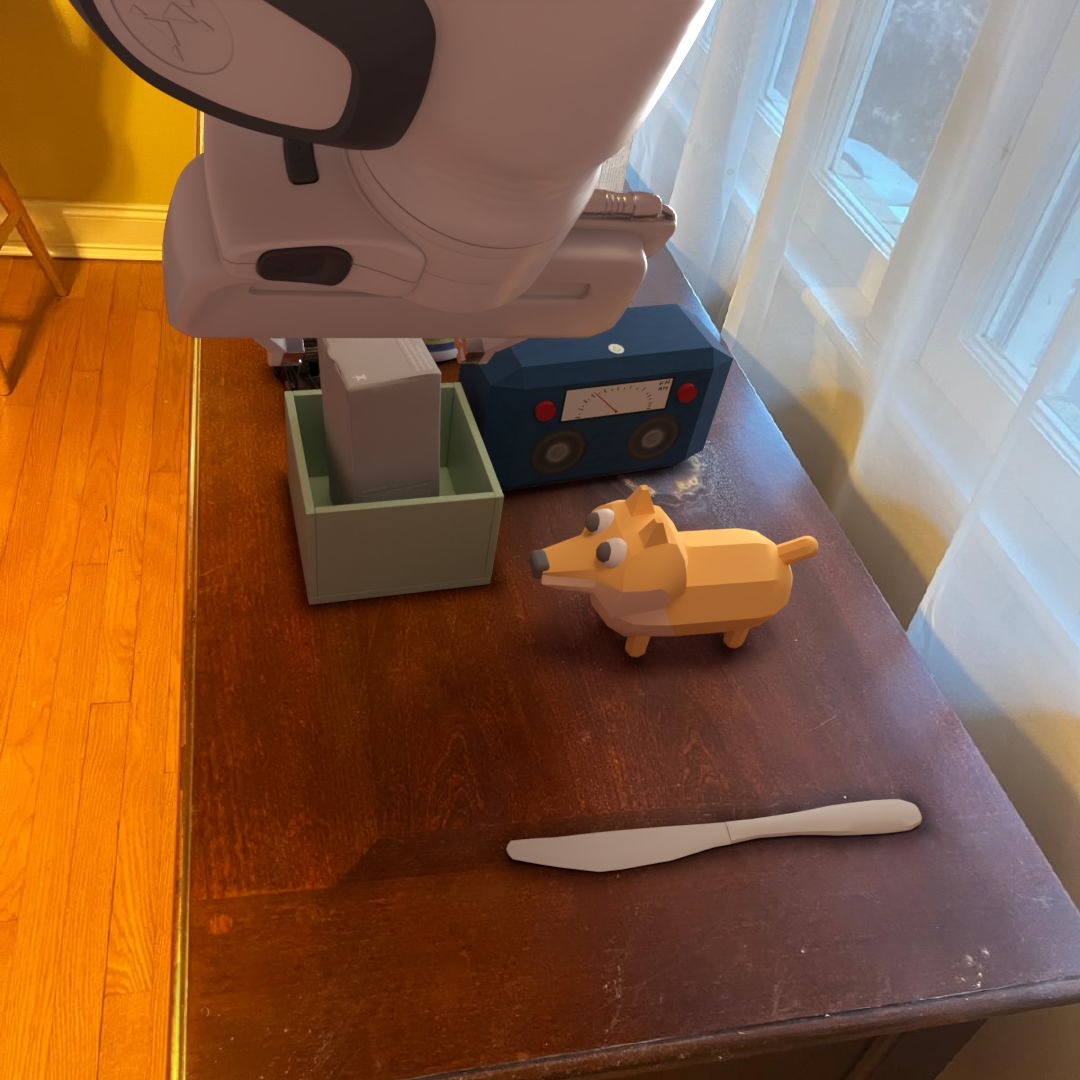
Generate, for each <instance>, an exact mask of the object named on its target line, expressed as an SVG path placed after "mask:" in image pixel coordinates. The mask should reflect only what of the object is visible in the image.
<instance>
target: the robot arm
mask: <svg viewBox="0 0 1080 1080" xmlns="http://www.w3.org/2000/svg"><path fill="white" fill-rule="evenodd" d="M68 2H69V4H70V5H71V6H72V8H73V9H74V10H75V11H76V12H77V14H78V15H79V17H81V19H82V20H83V21H84V23H85V24H86V25H87V26H88V27H89V28H90V30H91V31H92V32H93V33H94V34H95V36H96V37H97V38H98V39H99V40H100V41H101V42H102V43H103V45H105V47H107V48H108V49H109V51H111V53H113V55H115V56H116V57H117V58H118V60H119V61H121V62H122V64H124V65H125V66H126V67H127V68H128V69H129V70H130V71H132V73H134V74H135V75H136V76H138V77H139V78H140V79H141V80H143V81H144V82H145V83H147V84H148V85H150V86H152V87H153V88H155V89H156V90H158V91H160V92H162V93H163V94H166V95H167V96H168V97H170V98H173V99H175V100H177V101H179V102H181V103H183V104H185V105H187V106H189V107H191V108H193V109H195V110H197V111H200V112H202V113H204V116H203V133H202V134H203V136H202V137H203V139H202V141H203V143H202V144H203V146H202V147H203V152H201V153H200V154H198V155H197V156H195V157H193V158H192V160H190V161H189V162H188V163H187V164H186V165H185V166H184V168H183V169H182V171H181V172H180V174H179V176H178V178H177V180H176V182H175V185H174V188H173V191H172V195H171V198H170V201H169V204H168V208H167V214H166V217H165V221H164V222H165V223H164V228H163V233H162V234H163V235H162V245H161V267H162V268H161V269H162V281H163V293H164V294H163V295H164V301H165V302H164V303H165V310H166V311H165V312H166V316H167V322H168V324H169V325H170V327H171V328H172V329H173V330H175V331H177V332H179V333H181V334H182V335H184V336H187V337H189V338H193V339H252V340H253V341H254V342H255V343H256V344H258V345H259V346H261V347H262V348H264V349H265V350H266V357H267V358H266V359H267V364H268V366H269V367H272V366H292V367H293V366H300V365H301V359H303V356H304V353H305V352H304V344H303V339H302V338H454V345H455V348H456V349H457V350H458V353H457V355H456V356H457V357H456V360H457V364H458V365H460V364H487V363H488V361H489V360H490V359H491V357H492V356H493V354H494V353H495V352H498V351H501V350H503V349H505V348H508V347H510V346H512V345H515V344H517V343H519V342H522V341H524V340H526V339H528V338H589V337H593V336H595V335H598V334H600V333H603V332H605V331H607V330H609V329H611V328H612V327H613V326H614V325H615V324H616V323H617V322H618V320H619V319H620V318H621V316H622V315H623V314H624V312H625V311H626V309H627V308H629V307H630V305H631V303H632V301H634V298H635V297H636V295H637V293H639V292H638V291H639V290H640V288H641V286H642V284H643V282H644V280H645V277H646V274H647V272H648V271H647V270H648V262H647V260H648V259H650V258H652V257H653V256H655V255H656V254H657V253H658V252H659V251H661V249H662V248H663V247H664V246H665V245H666V243H667V242H668V241H669V240H671V238H672V236H673V235H674V233H675V232H676V229H677V223H678V216H677V213H676V211H675V210H674V208H672V207H671V206H669V205H668V204H666V203H663V202H662V198H661V197H660V195H658V194H655V193H653V192H648V191H643V190H642V191H641V190H631V191H628V192H622V193H619V192H616V191H611V190H605V189H595V187H596V185H597V182H598V178H599V175H600V170H601V165H602V163H603V162H605V161H606V160H608V159H609V158H611V157H612V156H614V155H615V154H616V153H617V152H618V151H619V150H621V149H622V148H623V147H624V146H625V145H626V144H627V143H628V142H629V141H630V140H631V139H632V137H633V136H635V135H636V134H637V133H638V132H639V130H640V128H641V127H642V126H643V124H644V123H645V121H646V120H647V118H648V116H649V115H650V114H651V112H652V111H653V109H654V108H655V106H656V104H657V103H658V101H659V100H660V98H661V96H662V95H663V93H665V91H666V89H667V87H668V86H669V84H670V82H671V81H672V79H673V77H674V76H675V74H676V72H677V71H678V69H679V68H680V66H681V65H682V63H683V61H684V59H685V57H686V55H687V54H688V52H689V51H690V50H691V48H692V46H693V44H694V42H695V41H696V39H697V37H698V35H699V33H700V31H701V29H702V28H703V26H704V24H705V23H706V20H707V19H708V16H709V14H710V12H711V10H712V8H713V6H714V4H715V2H716V0H68ZM633 138H634V137H633Z"/></svg>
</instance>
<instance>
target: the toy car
mask: <svg viewBox="0 0 1080 1080" xmlns="http://www.w3.org/2000/svg"><path fill="white" fill-rule="evenodd" d="M302 339H303V344H304V352H305V353H304V356H303V359H301V365H300V366H271V368H272V371H273V374H274V375H275V376H279V377H280V379H281V380H282V381H283V382H284V383H283V387H284V388H285V391H292V392H293V391H300V390H320V389H321V380H320V368H319V356H318V344H317V338H302Z"/></svg>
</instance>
